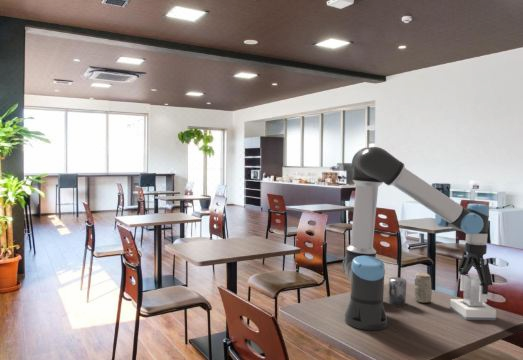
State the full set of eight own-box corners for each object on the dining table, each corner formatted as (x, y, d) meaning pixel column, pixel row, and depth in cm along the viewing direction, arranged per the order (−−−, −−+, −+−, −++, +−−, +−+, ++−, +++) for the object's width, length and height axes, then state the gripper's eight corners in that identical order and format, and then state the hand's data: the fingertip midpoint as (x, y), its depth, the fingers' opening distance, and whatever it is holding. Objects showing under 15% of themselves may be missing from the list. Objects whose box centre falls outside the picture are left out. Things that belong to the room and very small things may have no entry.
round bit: (391, 305, 173) (392, 281, 172) (385, 299, 180) (386, 277, 179) (407, 305, 173) (409, 282, 173) (401, 300, 180) (402, 277, 180)
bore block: (465, 319, 159) (465, 309, 159) (449, 308, 171) (450, 299, 171) (495, 320, 160) (496, 310, 160) (478, 309, 172) (478, 299, 172)
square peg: (469, 314, 163) (471, 278, 162) (462, 309, 168) (464, 275, 167) (481, 314, 163) (483, 278, 163) (474, 309, 168) (476, 275, 168)
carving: (418, 298, 184) (420, 271, 183) (434, 303, 178) (436, 275, 177) (410, 300, 180) (411, 273, 180) (425, 305, 174) (427, 277, 174)
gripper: (505, 250, 152) (501, 307, 153) (468, 237, 177) (465, 286, 178) (485, 249, 152) (481, 306, 153) (450, 236, 177) (448, 286, 178)
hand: (472, 296), depth 165 cm, fingers open, 13 cm apart
